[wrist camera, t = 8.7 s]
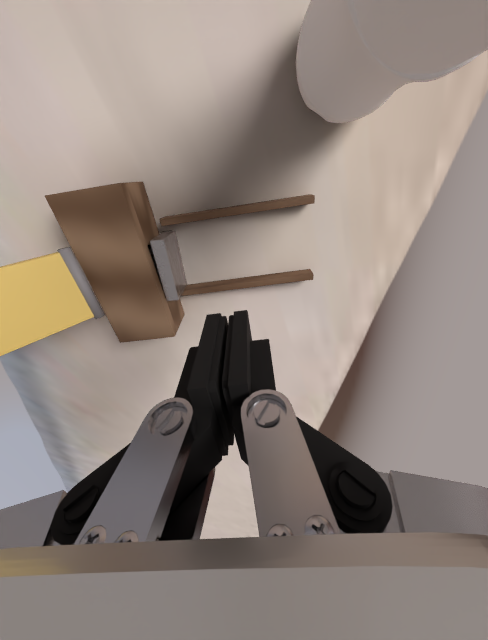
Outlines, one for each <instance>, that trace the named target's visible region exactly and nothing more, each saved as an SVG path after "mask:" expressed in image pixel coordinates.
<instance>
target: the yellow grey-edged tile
mask: <svg viewBox="0 0 488 640" xmlns="http://www.w3.org/2000/svg"><path fill="white" fill-rule="evenodd" d="M57 251H58V252H56V253H53V254H49V255H45V256H41V257H37V258H33V259H29V260H25V261H21V262H17V263H14V264H10V265H6V266H2V267H0V356H2V355H4V354H7V353H9V352H11V351H14V350H16V349H19V348H21V347H23V346H26V345H28V344H30V343H33V342H35V341H38V340H40V339H42V338H45V337H47V336H49V335H52V334H54V333H57V332H59V331H61V330H64V329H66V328H69V327H71V326H73V325H76V324H78V323H80V322H83V321H85V320H88V319H90V318H92V317H94V318H96V319H97V318H101V317H103V316H104V315H105V314H104V312H103V310H102V308H101V306H100V304H99V302H98V300H97V298H96V297H95V295H94V293H93V291H92V289H91V287H90V285H89V283H88V281H87V279H86V277H85V275H84V273H83V271H82V270H81V268H80V266H79V264H78V262H77V260H76V258H75V256H74V254H73V252H72V250H71V248H70V247H67V248H62V249H59V250H57Z"/></svg>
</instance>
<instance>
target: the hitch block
mask: <svg viewBox="0 0 488 640" xmlns="http://www.w3.org/2000/svg"><path fill="white" fill-rule="evenodd" d="M45 198H46V200H47V201H48V203H49V205H50V207H51V209H52V211H53V213H54V215H55V217H56V219H57V221H58V223H59V225H60V227H61V229H62V231H63V233H64V234H65V236H66V238H67V240H68V242H69V244H70V246H71V248H72V250H73V252H74V254H75V256H76V258H77V260H78V262H79V264H80V266H81V267H82V269H83V271H84V273H85V275H86V277H87V279H88V281H89V283H90V285H91V287H92V289H93V291H94V293H95V295H96V297H97V298H98V300H99V302H100V304H101V306H102V308H103V310H104V312H105V314H106V316H107V318H108V320H109V322H110V324H111V326H112V328H113V330H114V331H115V333H116V335H117V337H118V339H119V341H120V343H121V342H130V341H139V340H148V339H157V338H166V337H174V336H175V335H176V332H177V330H178V328H179V326H180V323H181V321H182V319H183V317H184V311H183V308H182V305H181V302H180V299H179V300H172V301H167V300H166V296H165V293H164V289H163V286H162V284H161V283H160V281H159V278H158V275H157V272H156V269H155V266H154V263H153V260H152V258H151V255H150V252H149V249H148V246H147V245H148V244H150V240H152V239H153V238H155V237H156V236H157V235H159V231H158V228H157V225H156V222H155V219H154V216H153V212H152V209H151V206H150V203H149V200H148V196H147V193H146V190H145V187H144V184H143V182H130V183H117V184H111V185H105V186H99V187H94V188H88V189H82V190H76V191H70V192H64V193H58V194H52V195H46V196H45ZM314 199H315V196H314V195H311V194H310V195H303V196H297V197H290V198H284V199H277V200H271V201H264V202H258V203H251V204H245V205H238V206H232V207H225V208H219V209H212V210H205V211H199V212H192V213H186V214H179V215H173V216H166V217H163V218H161V219H160V223H161V226H166V225H173V224H179V223H186V222H192V221H199V220H206V219H212V218H219V217H226V216H232V215H239V214H246V213H252V212H259V211H266V210H272V209H279V208H286V207H292V206H299V205H306V204H312V203H314ZM305 280H313V273H312V271H311V270H310V269H306V270H299V271H291V272H283V273H275V274H268V275H260V276H252V277H244V278H237V279H229V280H221V281H213V282H205V283H198V284H190V285H187V286H186V288H185V289H184V291H183V293H182V295H183V296H185V295H193V294H201V293H209V292H217V291H225V290H233V289H241V288H249V287H257V286H265V285H273V284H281V283H289V282H297V281H305Z"/></svg>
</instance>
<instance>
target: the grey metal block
mask: <svg viewBox="0 0 488 640" xmlns="http://www.w3.org/2000/svg"><path fill="white" fill-rule="evenodd" d="M150 243H151V247H148V249H149V252H150V255H151V258H152V260H153V263H154V266H155V269H156V272H157V275H158V278H159V281H160V283H161V284H162V286H163V289H164V293H165V296H166V300H167V301H172V300H179V299H180V297H181V295H182V293H183V291H184V289H185V288H186V286H187V281H186V277H185V272H184V267H183V263H182V258H181V254H180V249H179V245H178V240H177V236H176V231H175V230H174V231H163V232H162V233H160V234H159V235H157V236H156V237H155V238H153V239H152V240H150ZM73 254H74V253H73ZM74 256H75V254H74ZM75 258H76V256H75ZM76 260H77V258H76ZM77 262H78V260H77ZM78 264H79V262H78ZM79 266H80V264H79ZM80 268H81V270H82V271H83V269H82V267H81V266H80ZM83 273H84V271H83ZM84 275H85V273H84ZM85 277H86V275H85ZM86 279H87V277H86ZM87 281H88V279H87ZM88 283H89V281H88ZM89 285H90V283H89ZM90 287H91V285H90ZM91 289H92V287H91Z"/></svg>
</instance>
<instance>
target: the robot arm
mask: <svg viewBox="0 0 488 640" xmlns="http://www.w3.org/2000/svg"><path fill="white" fill-rule="evenodd" d="M234 434H235V438H236V442H237V445H238V449H239V452H240V456H241V459H242V460H243V461H244V462H245V463H246V464H247V465H248V466H249V471H250V478H251V484H252V491H253V497H254V504H255V510H256V517H257V523H258V530H259V537H246V538H221V539H200V535H201V531H202V527H203V523H204V518H205V514H206V510H207V506H208V501H209V497H210V493H211V489H212V484H213V480H214V476H215V466H216V465H217V464H218V463H219V462H220V461H221V460H222V456H225V455H228V445H233V443H234ZM0 640H488V488H485V487H482V486H478V485H472V484H467V483H461V482H454V481H449V480H444V479H438V478H432V477H426V476H420V475H415V474H408V473H403V472H398V471H392V470H391V471H390V473H389V474H388V473H383V472H377V471H375V470H374V469H372V468H371V467H370V466H369V465H368V464H366V463H365V462H363V461H362V460H360V459H359V458H357V457H355V456H354V455H353V454H351V453H350V452H348V451H346V450H345V449H344V448H342V447H341V446H339V445H338V444H336V443H335V442H333V441H332V440H330V439H329V438H327V437H326V436H324V435H323V434H321V433H320V432H319V431H317V430H316V429H314V428H313V427H311V426H310V425H308V424H307V423H305V422H304V421H302V420H301V419H299V418H298V417H296V415H295V413H294V410H293V408H292V405H291V403H290V401H289V400H288V398H287V397H286V396H285V395H283V394H282V393H280V392H278V391H276V387H275V380H274V373H273V366H272V359H271V351H270V344H269V339H264V340H255V341H252V338H251V331H250V324H249V318H248V312H247V310H244V311H236V312H234V315H231V316H229V323H227V318H226V316H221V314H220V313H219V314H210V315H207V316H206V320H205V324H204V328H203V331H202V335H201V339H200V342H199V346H198V347H191V348H190V350H189V352H188V355H187V359H186V362H185V365H184V368H183V371H182V375H181V378H180V381H179V384H178V387H177V390H176V394H175V397H174V398H170V399H167V400H164V401H162V402H160V403H158V404H157V405H156V406H154V407H153V408H152V409H151V410H150V411H149V413H148V414H147V416H146V417H145V419H144V421H143V422H142V424H141V426H140V428H139V429H138V431H137V433H136V435H135V437H134V438H133V440H132V442H131V443H130V444H129V445H127V446H126V447H125V448H123V449H122V450H121V451H120V452H118V453H117V454H116V455H114V456H113V457H112V458H110V459H109V460H108V461H106V462H105V463H104V464H103V465H101V466H100V467H99V468H97V469H96V470H95V471H93V472H92V473H91V474H90V475H88V476H87V477H86V478H84V479H83V480H82V481H80V482H79V483H78V484H77V485H76V486H74V487H73V488H72V489H71V490H70V491H69V492H68V493H66V492H65V491H64V490H62V491H59V492H56V493H53V494H50V495H46V496H43V497H40V498H37V499H33V500H30V501H27V502H24V503H21V504H17V505H14V506H11V507H8V508H5V509H1V510H0Z"/></svg>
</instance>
